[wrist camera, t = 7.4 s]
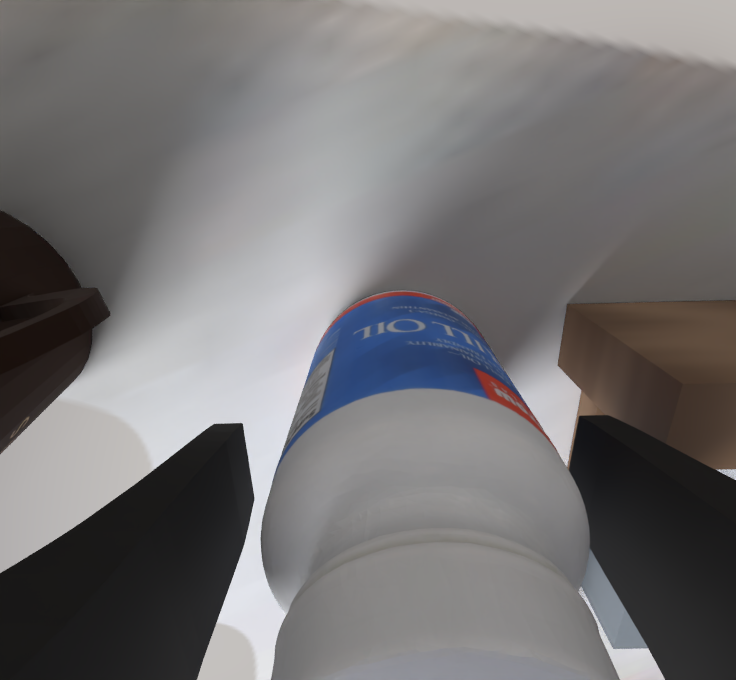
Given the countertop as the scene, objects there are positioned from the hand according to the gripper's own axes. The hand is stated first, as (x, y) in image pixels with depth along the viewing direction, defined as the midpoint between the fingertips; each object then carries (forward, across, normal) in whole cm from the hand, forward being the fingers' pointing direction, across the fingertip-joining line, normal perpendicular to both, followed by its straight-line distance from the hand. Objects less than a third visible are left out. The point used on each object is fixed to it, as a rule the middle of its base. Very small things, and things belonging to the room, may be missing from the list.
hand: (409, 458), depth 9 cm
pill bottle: (+5, 0, 0) cm, 5 cm away
